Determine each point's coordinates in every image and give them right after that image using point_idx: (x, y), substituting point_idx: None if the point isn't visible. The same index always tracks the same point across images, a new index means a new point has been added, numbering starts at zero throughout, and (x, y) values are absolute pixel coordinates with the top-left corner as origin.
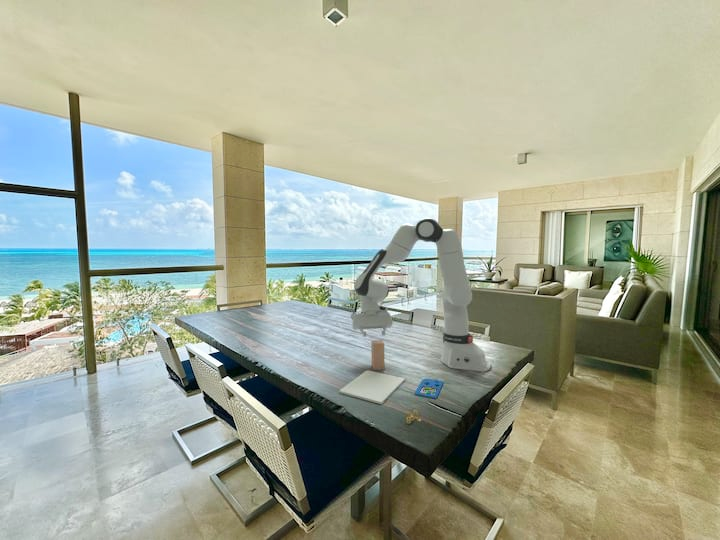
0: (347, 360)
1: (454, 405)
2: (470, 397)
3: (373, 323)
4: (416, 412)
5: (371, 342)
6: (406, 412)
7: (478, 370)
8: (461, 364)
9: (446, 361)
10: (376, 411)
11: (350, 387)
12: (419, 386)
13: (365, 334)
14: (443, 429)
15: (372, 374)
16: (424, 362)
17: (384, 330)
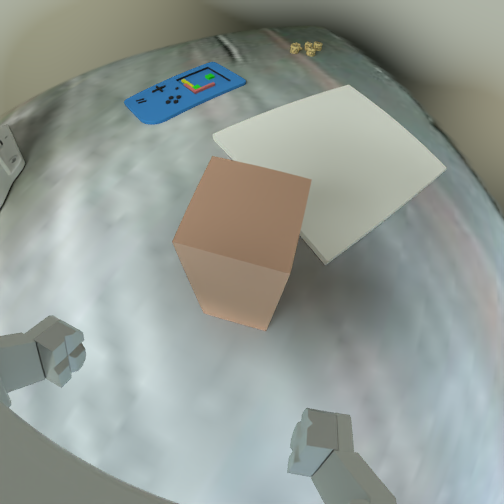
0: None
1: (200, 48)
2: (146, 57)
3: (82, 500)
4: (295, 44)
5: (287, 278)
6: (313, 49)
7: (10, 130)
8: (2, 154)
9: (3, 181)
10: (364, 82)
11: (418, 165)
12: (206, 95)
13: (321, 411)
14: (272, 30)
15: (319, 208)
16: (28, 240)
17: (24, 337)
